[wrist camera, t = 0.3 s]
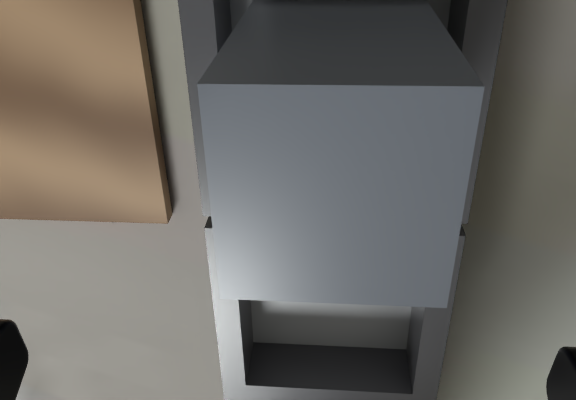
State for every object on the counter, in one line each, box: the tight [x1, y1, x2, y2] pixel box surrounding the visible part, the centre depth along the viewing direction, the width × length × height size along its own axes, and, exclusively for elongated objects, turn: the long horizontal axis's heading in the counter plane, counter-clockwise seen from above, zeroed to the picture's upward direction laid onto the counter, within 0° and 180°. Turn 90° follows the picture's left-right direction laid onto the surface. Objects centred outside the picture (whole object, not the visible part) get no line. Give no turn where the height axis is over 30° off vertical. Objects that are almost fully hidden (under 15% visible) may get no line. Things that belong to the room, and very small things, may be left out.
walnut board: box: [0, 0, 172, 224], centre depth 23 cm, size 11×11×1 cm
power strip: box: [178, 0, 508, 400], centre depth 22 cm, size 22×9×6 cm, turn 1°
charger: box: [197, 0, 485, 308], centre depth 15 cm, size 5×5×9 cm
